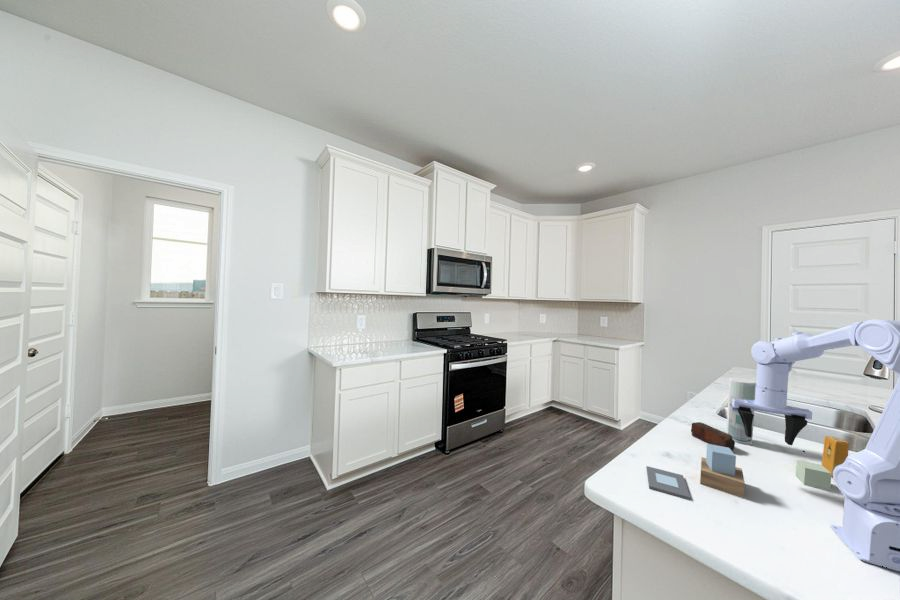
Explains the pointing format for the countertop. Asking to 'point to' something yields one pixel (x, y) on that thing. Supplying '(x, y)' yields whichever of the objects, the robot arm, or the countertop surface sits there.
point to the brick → (712, 435)
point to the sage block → (813, 475)
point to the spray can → (735, 426)
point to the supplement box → (834, 453)
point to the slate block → (721, 459)
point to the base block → (723, 480)
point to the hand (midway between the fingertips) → (767, 439)
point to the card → (667, 482)
